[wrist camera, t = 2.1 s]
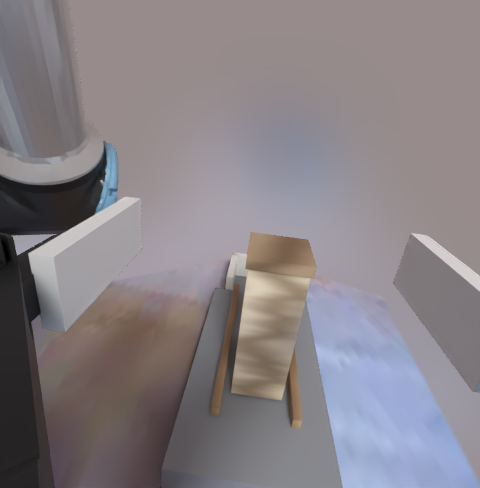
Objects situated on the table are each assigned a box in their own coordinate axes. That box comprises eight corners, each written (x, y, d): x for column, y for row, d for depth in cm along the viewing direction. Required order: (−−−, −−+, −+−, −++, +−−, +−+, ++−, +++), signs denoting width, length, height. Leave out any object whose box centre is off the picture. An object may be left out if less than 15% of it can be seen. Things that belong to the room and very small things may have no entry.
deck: (161, 487, 24) (161, 469, 23) (214, 301, 48) (215, 287, 47) (336, 517, 24) (344, 499, 23) (302, 313, 47) (305, 300, 46)
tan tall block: (228, 394, 30) (246, 257, 23) (236, 336, 37) (252, 222, 31) (283, 402, 29) (316, 267, 23) (280, 343, 37) (304, 229, 31)
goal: (223, 301, 48) (226, 277, 46) (230, 273, 56) (232, 252, 54) (293, 311, 48) (298, 287, 46) (289, 281, 56) (293, 260, 54)
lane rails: (210, 414, 28) (211, 405, 27) (234, 290, 47) (234, 283, 46) (299, 429, 27) (302, 420, 27) (287, 297, 46) (288, 291, 46)
